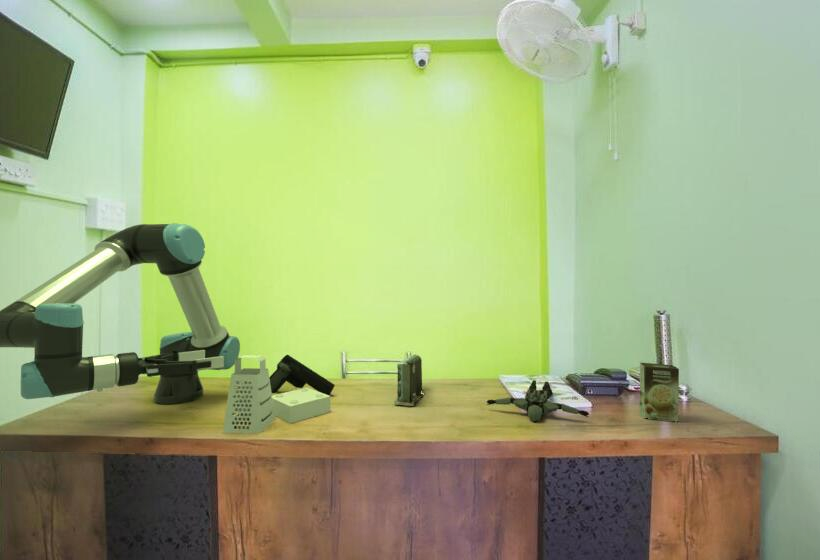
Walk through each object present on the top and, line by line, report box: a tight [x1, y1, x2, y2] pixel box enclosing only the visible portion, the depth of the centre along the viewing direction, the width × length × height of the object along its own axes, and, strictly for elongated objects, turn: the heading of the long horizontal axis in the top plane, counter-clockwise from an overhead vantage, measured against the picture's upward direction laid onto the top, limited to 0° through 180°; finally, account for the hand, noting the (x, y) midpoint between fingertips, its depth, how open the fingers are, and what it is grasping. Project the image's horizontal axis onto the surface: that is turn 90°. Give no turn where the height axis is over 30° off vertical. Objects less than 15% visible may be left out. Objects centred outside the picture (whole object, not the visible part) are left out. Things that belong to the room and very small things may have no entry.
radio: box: [393, 354, 424, 407], centre depth 139 cm, size 23×9×15 cm, turn 161°
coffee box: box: [638, 362, 680, 422], centre depth 118 cm, size 9×6×16 cm
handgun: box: [269, 354, 336, 396], centre depth 142 cm, size 2×24×15 cm, turn 78°
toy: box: [486, 379, 590, 422], centre depth 127 cm, size 30×8×30 cm
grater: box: [222, 354, 276, 435], centre depth 111 cm, size 10×10×20 cm
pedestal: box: [272, 387, 332, 424], centre depth 123 cm, size 14×14×5 cm
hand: (213, 358), depth 104 cm, fingers open, 13 cm apart
